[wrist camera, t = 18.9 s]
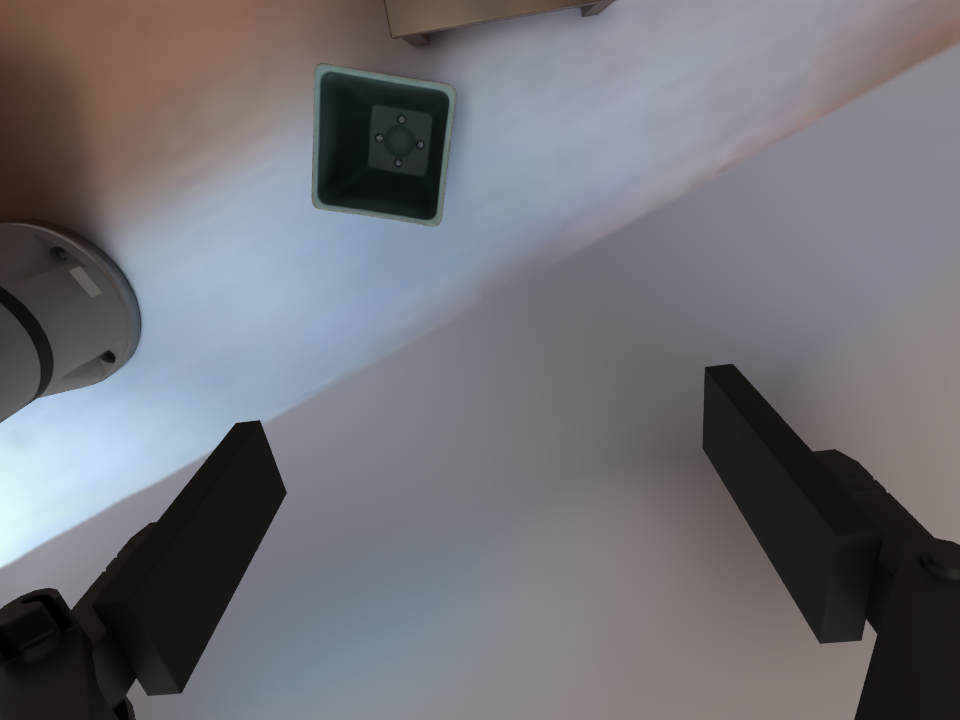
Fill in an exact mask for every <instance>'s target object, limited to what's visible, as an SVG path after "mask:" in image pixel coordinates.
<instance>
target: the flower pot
mask: <svg viewBox="0 0 960 720" xmlns="http://www.w3.org/2000/svg"><path fill="white" fill-rule="evenodd" d="M455 103H456V90H455V88H454V87H453V86H451V85H449V84H445V83H438V82H433V81H425V80H419V79H413V78H407V77H400V76H394V75H388V74H383V73H377V72H371V71H365V70H359V69H354V68H348V67H343V66H337V65H332V64H326V63H320V64H318V65H317V66H316V68H315V72H314V135H313V172H312V203H313V205H314V207H315V208H317V209H321V210H327V211H335V212H343V213H350V214H358V215H365V216H371V217H377V218H384V219H391V220H397V221H403V222H409V223H414V224H421V225H425V226H438V225H439V224H440V223H441V220H442V214H443V203H444V194H445V184H446V175H447V167H448V158H449V149H450V141H451V132H452V125H453V117H454V110H455ZM400 116H403V117H404V118H405V122H404V123H400V122H399V120H398V119H399V117H400ZM379 134H380V135H381V136H382V137H383V140H382V141H381V142H379V141H377V140H376V136H377V135H379ZM419 141H421V142H423V148H418V146H417V143H418V142H419ZM397 159H399V160H400V161H401V165H400V166H396V164H395V161H396V160H397Z"/></svg>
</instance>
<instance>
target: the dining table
mask: <svg viewBox="0 0 960 720" xmlns="http://www.w3.org/2000/svg"><path fill="white" fill-rule="evenodd" d="M614 1H615V0H384V3H385V8H386V13H387V19H388V24H389V29H390V35H391V38H393V39H398V38H402V39H404V40H405V41H407V42H408V43H410V44H411V45H413V46H419V45H425V44H429V39H428V33H433V32H438V31H444V30H450V29H456V28H461V27H467V26H473V25H478V24H484V23H490V22H495V21H501V20H507V19H513V18H518V17H524V16H530V15H535V14H541V13H547V12H552V11H558V10H564V9H570V8H575V7H582V17H587V16H592V15H598V14H599V13H601V12H602V11H603V10H604V9H605V8H607V7H608V6H609V5H610V4H612V3H613V2H614Z"/></svg>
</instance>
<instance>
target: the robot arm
mask: <svg viewBox="0 0 960 720" xmlns="http://www.w3.org/2000/svg"><path fill="white" fill-rule="evenodd" d="M140 328H141V323H140V314H139V309H138V305H137V302H136V299H135V297H134V294H133V292H132V290H131V288H130V286H129V284H128V282H127V281H126V279H125V277H124V276H123V275H122V273H121V272H120V270H119V269H118V268H117V267H116V266H115V264H114V263H113V262H112V261H111V260H110V259H109V258H108V257H107V256H106V255H105V254H104V253H103V252H102V251H101V250H99V249H98V248H97V247H96V246H94V245H93V244H92V243H90V242H89V241H87V240H86V239H84V238H83V237H81V236H79V235H77V234H76V233H74V232H72V231H69V230H67V229H65V228H63V227H60V226H57V225H54V224H50V223H47V222H42V221H35V220H14V221H8V222H4V223H0V423H1V422H3V421H4V420H6V419H7V418H9V417H10V416H11V415H13V414H14V413H16V412H17V411H19V410H20V409H22V408H23V407H25V406H26V405H28V404H29V403H31V402H32V401H34V400H35V399H37V398H40V397H44V396H49V395H53V394H57V393H61V392H65V391H70V390H74V389H78V388H82V387H86V386H89V385H93V384H96V383H98V382H101V381H102V380H104V379H106V378H108V377H109V376H110V375H112V374H113V373H114V372H116V371H117V370H119V369H120V368H121V367H123V366H124V365H125V364H126V363H127V362H128V361H129V359H130V358H131V357H132V355H133V354H134V352H135V350H136V347H137V345H138V342H139V337H140ZM704 383H705V384H704V418H703V450H704V451H705V453H706V455H707V456H708V458H709V460H710V461H711V462H712V465H713V466H714V468H715V469H716V471H717V473H718V474H719V476H720V478H721V479H722V481H723V483H724V485H725V486H726V488H727V489H728V491H729V493H730V494H731V496H732V498H733V500H734V501H735V503H736V504H737V506H738V508H739V510H740V511H741V513H742V515H743V516H744V518H745V520H746V521H747V523H748V524H749V526H750V528H751V530H752V531H753V533H754V534H755V536H756V538H757V539H758V541H759V543H760V545H761V546H762V548H763V549H764V551H765V553H766V554H767V556H768V558H769V559H770V561H771V563H772V564H773V566H774V567H775V569H776V571H777V573H778V574H779V576H780V578H781V579H782V581H783V583H784V584H785V586H786V588H787V589H788V591H789V593H790V594H791V596H792V598H793V599H794V601H795V603H796V604H797V606H798V608H799V609H800V611H801V612H802V614H803V616H804V618H805V619H806V621H807V623H808V624H809V626H810V628H811V629H812V631H813V633H814V634H815V636H816V638H817V639H818V641H819V643H820V644H823V643H836V642H848V641H861V640H862V635H863V630H864V625H865V621H866V619H867V621H868V622H869V623H870V625H871V626H872V627H873V629H874V630H875V632H876V633H877V638H876V642H875V646H874V649H873V653H872V657H871V660H870V664H869V668H868V671H867V675H866V679H865V682H864V686H863V690H862V694H861V697H860V701H859V705H858V708H857V712H856V716H855V719H854V720H960V545H959V544H956V543H954V542H951V541H946V540H941V539H937V538H934V537H933V536H932V535H931V534H930V533H929V532H928V531H927V530H926V529H925V528H924V527H923V526H922V525H921V524H920V523H919V522H918V521H917V520H916V519H915V518H914V517H913V516H912V515H911V514H910V513H909V512H908V511H907V510H906V509H905V508H904V507H903V506H902V505H901V504H900V503H899V502H898V501H897V500H895V498H894V497H893V496H892V495H891V494H890V493H887V492H886V489H885V488H884V487H883V486H882V485H881V484H880V483H879V482H878V481H877V480H874V479H873V476H871V474H870V473H869V472H868V471H867V470H866V469H864V467H863V466H862V465H861V464H859V462H857V461H855V460H854V459H852V458H850V457H848V456H846V455H844V454H843V453H841V452H839V451H837V450H835V449H833V450H824V451H815V452H812V451H811V450H810V448H809V447H808V446H807V445H806V444H805V443H804V442H803V441H802V440H801V439H800V437H799V436H798V435H797V434H796V433H795V432H794V431H793V430H792V429H791V428H790V426H789V425H788V424H787V423H786V422H785V421H784V420H783V419H782V418H781V416H779V414H778V413H777V412H776V411H775V410H774V409H773V408H772V407H771V405H770V404H769V403H768V402H767V401H766V400H765V399H764V398H763V397H762V395H761V394H760V393H759V392H758V391H757V390H756V389H755V388H754V387H753V386H752V384H751V383H750V382H749V381H748V380H747V379H746V378H745V377H744V376H743V375H742V373H741V372H740V371H739V370H738V369H737V368H736V367H735V366H734V365H733V364H727V365H719V366H711V367H705V382H704ZM286 493H287V492H286V489H285V487H284V484H283V481H282V479H281V476H280V473H279V470H278V468H277V465H276V462H275V460H274V457H273V454H272V452H271V449H270V446H269V443H268V441H267V438H266V435H265V432H264V430H263V427H262V424H261V422H260V420H258V421H250V422H241V423H236V424H235V425H234V426H233V427H232V429H231V430H230V431H229V432H228V434H227V435H226V436H225V437H224V439H223V440H222V441H221V442H220V444H219V445H218V446H217V447H216V449H215V450H214V451H213V452H212V454H211V455H210V456H209V457H208V459H207V460H206V461H205V463H204V464H203V465H202V466H201V468H200V469H199V470H198V471H197V472H196V474H195V475H194V476H193V478H192V479H191V480H190V481H189V483H188V484H187V485H186V486H185V488H184V489H183V490H182V491H181V493H180V494H179V495H178V496H177V498H176V499H175V500H174V501H173V503H172V504H171V505H170V506H169V508H168V509H167V510H166V512H165V513H164V514H163V515H162V516H161V518H160V519H159V520H158V521H157V522H153V523H149V524H148V525H147V526H146V527H144V528H143V529H142V530H141V531H139V532H138V533H137V534H135V535H134V536H133V537H132V538H130V540H129V541H128V542H127V544H126V545H125V546H124V547H123V548H122V550H121V551H120V552H119V553H118V554H117V558H114V559H113V560H112V561H111V563H110V564H109V565H108V566H107V567H106V571H105V572H102V574H101V575H100V576H99V577H98V578H97V580H96V581H95V582H94V583H93V584H92V586H91V587H90V588H89V589H88V591H87V592H86V593H85V594H84V595H83V597H82V598H81V599H80V600H79V601H78V603H77V604H76V605H75V606H74V607H73V609H72V610H70V609H69V607H68V606H67V604H66V602H65V601H64V599H63V598H62V596H61V595H60V593H59V592H58V590H56V589H51V588H45V589H40V590H35V591H32V592H30V593H27V594H25V595H23V596H20V597H19V598H17V599H15V600H13V601H12V602H10V603H8V604H7V605H5V606H4V607H3V608H1V609H0V720H136V719H135V715H134V710H133V706H132V704H131V702H130V701H129V699H128V698H127V696H126V694H127V692H128V691H129V689H130V687H131V686H132V684H133V683H134V681H135V679H136V678H137V679H138V681H139V683H140V684H141V686H142V687H143V689H144V690H145V692H146V694H147V695H148V696H153V695H166V694H178V693H182V691H183V689H184V688H185V686H186V684H187V682H188V680H189V678H190V676H191V674H192V672H193V670H194V669H195V667H196V665H197V663H198V661H199V659H200V657H201V655H202V653H203V651H204V650H205V648H206V646H207V644H208V642H209V640H210V638H211V636H212V634H213V632H214V630H215V629H216V627H217V625H218V623H219V621H220V619H221V617H222V615H223V613H224V611H225V610H226V608H227V606H228V604H229V602H230V600H231V598H232V596H233V594H234V592H235V591H236V588H237V587H238V585H239V583H240V581H241V579H242V577H243V575H244V573H245V571H246V570H247V568H248V566H249V564H250V562H251V560H252V558H253V556H254V554H255V552H256V551H257V549H258V547H259V545H260V543H261V541H262V539H263V537H264V535H265V533H266V532H267V530H268V528H269V526H270V524H271V522H272V520H273V518H274V516H275V514H276V513H277V510H278V509H279V507H280V505H281V503H282V501H283V499H284V497H285V495H286Z"/></svg>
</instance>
